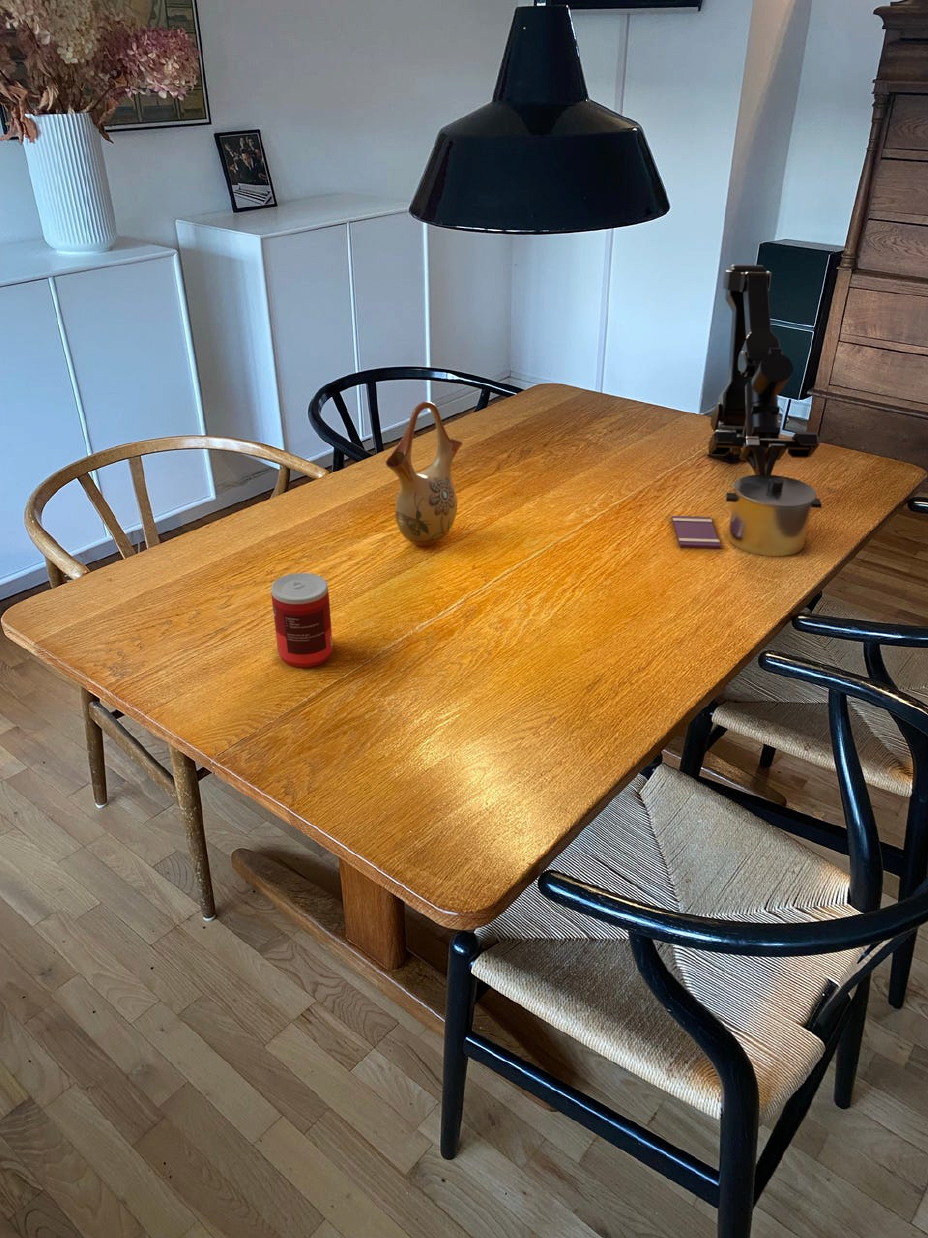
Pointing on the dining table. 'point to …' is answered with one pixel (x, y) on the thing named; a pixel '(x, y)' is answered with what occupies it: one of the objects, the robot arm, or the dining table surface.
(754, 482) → the steel pot
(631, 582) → the dining table surface
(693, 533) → the purple striped coaster
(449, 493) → the ceramic vessel
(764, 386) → the robot arm
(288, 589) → the canned food
